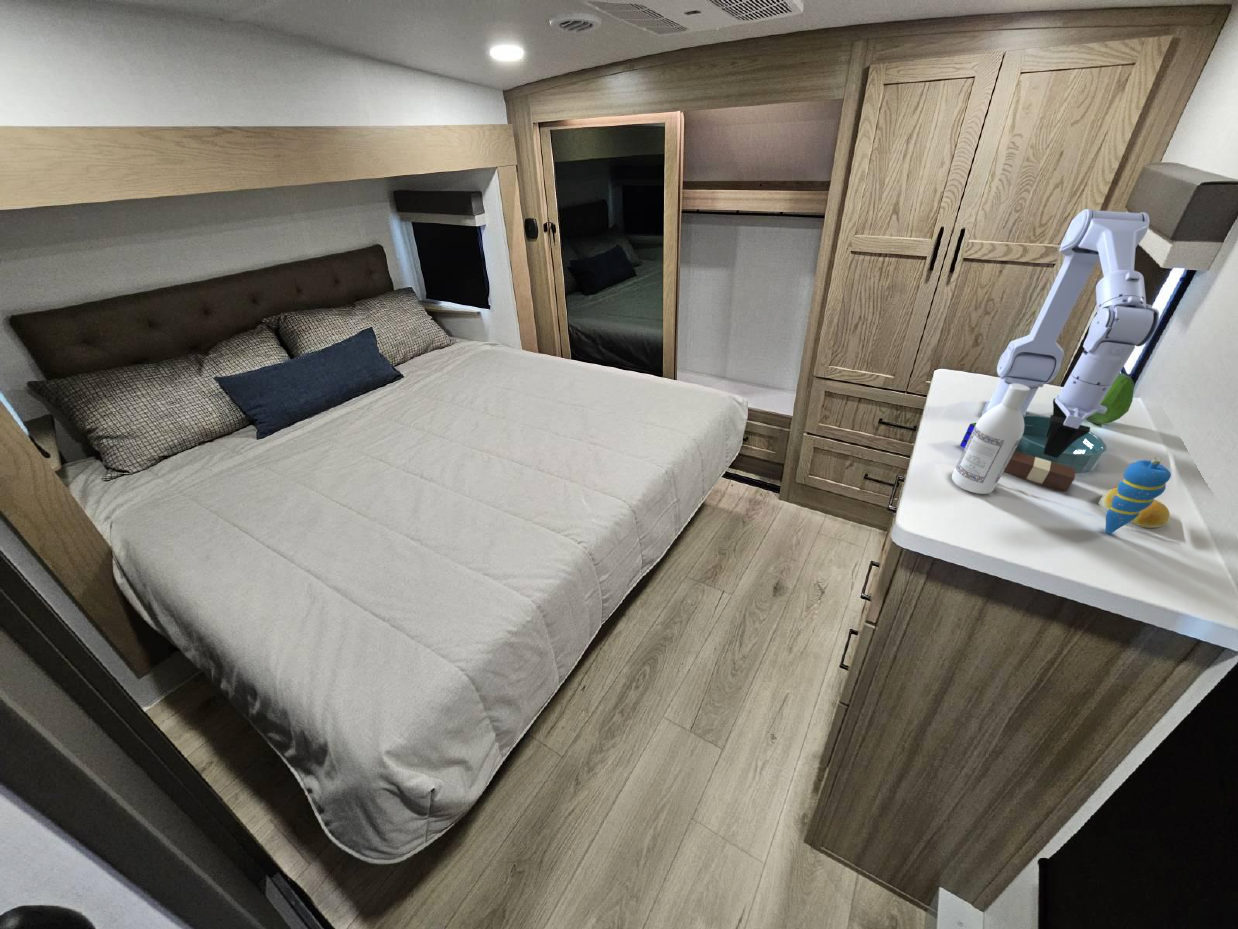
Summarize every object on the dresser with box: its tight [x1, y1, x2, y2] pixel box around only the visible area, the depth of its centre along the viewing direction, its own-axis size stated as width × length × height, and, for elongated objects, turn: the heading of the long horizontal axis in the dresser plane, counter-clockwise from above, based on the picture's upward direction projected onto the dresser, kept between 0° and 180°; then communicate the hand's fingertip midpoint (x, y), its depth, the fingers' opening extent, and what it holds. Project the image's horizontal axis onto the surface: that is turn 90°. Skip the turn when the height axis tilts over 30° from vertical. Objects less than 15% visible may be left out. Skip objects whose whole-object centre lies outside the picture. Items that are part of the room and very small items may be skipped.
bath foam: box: [951, 383, 1030, 495], centre depth 91 cm, size 7×7×20 cm
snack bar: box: [1003, 451, 1076, 493], centre depth 97 cm, size 10×4×3 cm, turn 52°
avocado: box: [1084, 372, 1135, 425], centre depth 115 cm, size 8×8×12 cm
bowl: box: [1015, 414, 1107, 474], centre depth 105 cm, size 16×16×4 cm
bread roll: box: [1098, 486, 1171, 529], centre depth 89 cm, size 8×9×4 cm
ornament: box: [1104, 455, 1172, 535], centre depth 81 cm, size 5×5×15 cm
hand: (1051, 446), depth 94 cm, fingers open, 7 cm apart
